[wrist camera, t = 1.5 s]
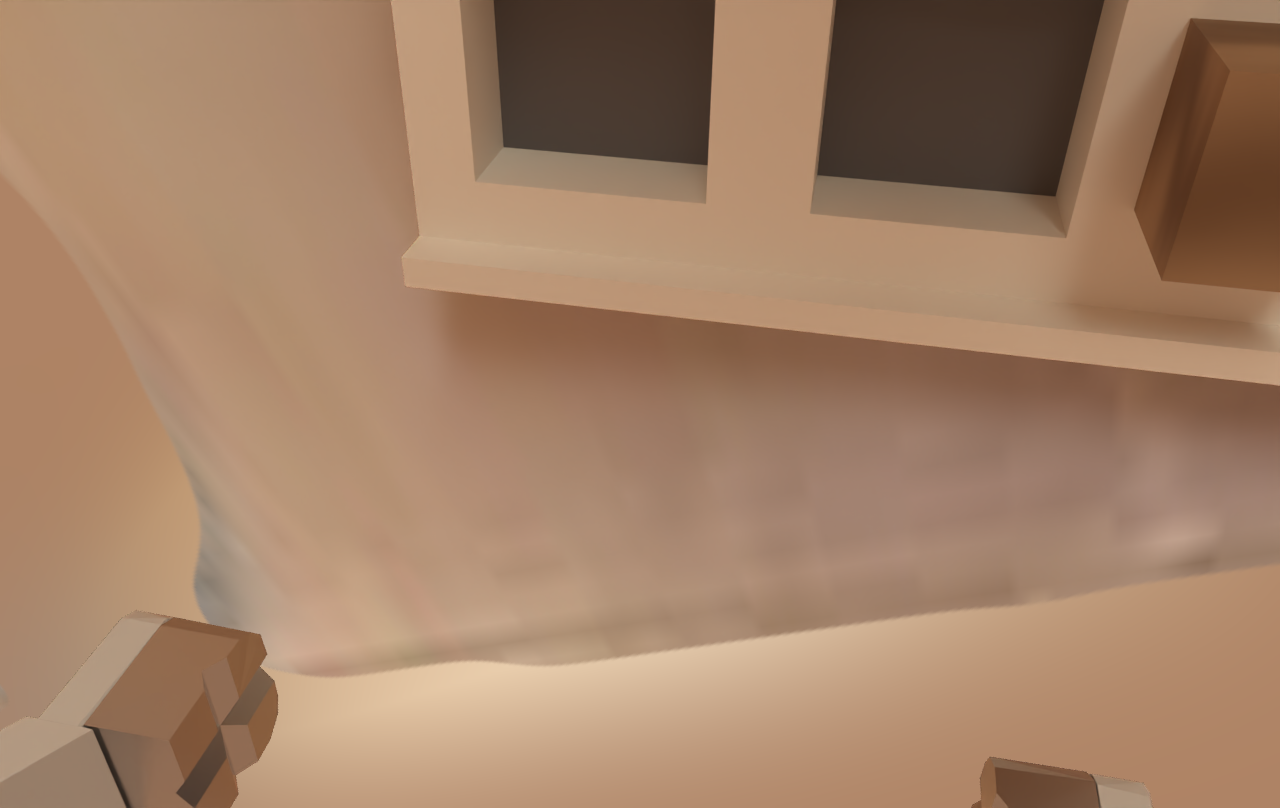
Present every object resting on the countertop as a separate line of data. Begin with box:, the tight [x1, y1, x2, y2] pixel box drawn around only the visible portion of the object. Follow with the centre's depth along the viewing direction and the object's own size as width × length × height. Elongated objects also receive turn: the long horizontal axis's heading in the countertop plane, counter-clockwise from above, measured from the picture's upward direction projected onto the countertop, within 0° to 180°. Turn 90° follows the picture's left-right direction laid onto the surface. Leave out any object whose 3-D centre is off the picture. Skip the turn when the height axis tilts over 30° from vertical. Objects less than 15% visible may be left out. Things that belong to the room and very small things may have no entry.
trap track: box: [391, 0, 1280, 385], centre depth 27 cm, size 13×40×6 cm, turn 89°
